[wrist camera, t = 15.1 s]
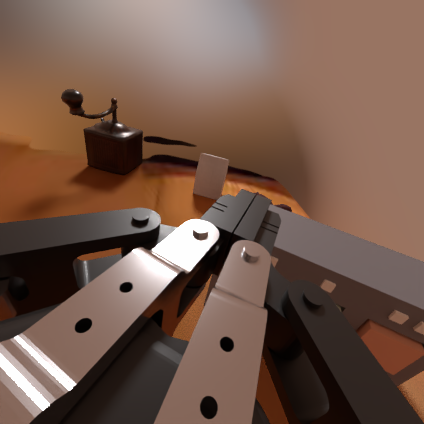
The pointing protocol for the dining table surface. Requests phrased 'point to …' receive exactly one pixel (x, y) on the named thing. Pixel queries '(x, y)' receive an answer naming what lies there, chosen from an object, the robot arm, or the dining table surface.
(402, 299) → the console
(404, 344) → the button terracotta
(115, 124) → the dark brown coffee grinder
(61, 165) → the dining table surface
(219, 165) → the pale pink rectangular block
